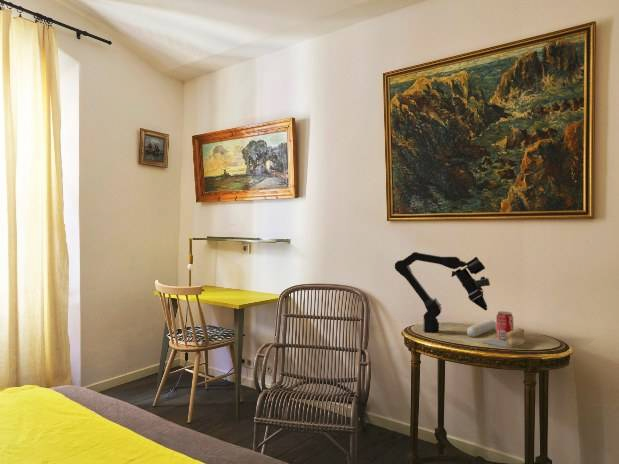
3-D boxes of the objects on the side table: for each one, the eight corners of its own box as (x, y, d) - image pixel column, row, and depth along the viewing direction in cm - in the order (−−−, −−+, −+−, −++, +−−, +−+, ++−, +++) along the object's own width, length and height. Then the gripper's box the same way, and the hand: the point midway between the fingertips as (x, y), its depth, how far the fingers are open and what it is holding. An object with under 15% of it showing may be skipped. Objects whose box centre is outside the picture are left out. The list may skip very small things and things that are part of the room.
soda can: (511, 337, 200) (511, 311, 200) (515, 341, 193) (515, 314, 194) (494, 336, 202) (495, 310, 202) (497, 340, 195) (498, 313, 195)
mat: (482, 343, 189) (482, 342, 189) (492, 339, 196) (492, 338, 196) (505, 347, 182) (505, 346, 182) (515, 343, 189) (515, 342, 189)
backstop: (506, 347, 182) (506, 333, 182) (519, 342, 192) (519, 328, 192) (511, 348, 181) (511, 333, 181) (524, 342, 190) (524, 329, 190)
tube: (477, 330, 198) (497, 322, 217) (466, 324, 202) (487, 317, 220) (473, 340, 199) (494, 331, 218) (463, 335, 203) (483, 327, 221)
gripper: (481, 272, 195) (502, 302, 192) (481, 269, 213) (501, 297, 209) (459, 285, 199) (480, 315, 195) (461, 281, 216) (480, 309, 213)
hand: (486, 308), depth 203 cm, fingers open, 9 cm apart
